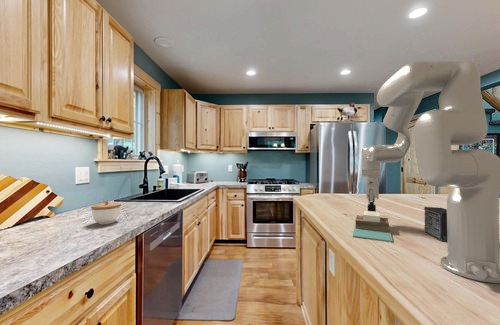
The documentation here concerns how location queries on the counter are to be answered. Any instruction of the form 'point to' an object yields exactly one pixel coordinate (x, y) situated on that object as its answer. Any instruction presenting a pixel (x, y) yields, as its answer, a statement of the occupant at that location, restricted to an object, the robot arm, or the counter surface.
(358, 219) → the walnut riser
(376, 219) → the cream tile
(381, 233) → the teal mat
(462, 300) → the counter surface
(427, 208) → the small box
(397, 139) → the robot arm
